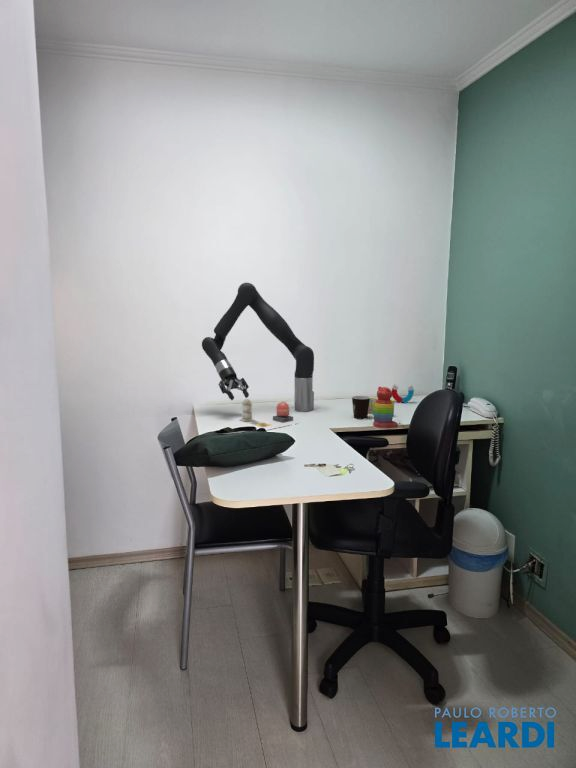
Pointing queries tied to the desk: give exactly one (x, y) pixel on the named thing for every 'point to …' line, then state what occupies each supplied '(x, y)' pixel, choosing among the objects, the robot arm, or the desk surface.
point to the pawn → (247, 411)
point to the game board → (275, 418)
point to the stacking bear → (384, 409)
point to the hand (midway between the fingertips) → (240, 397)
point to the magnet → (402, 399)
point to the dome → (282, 409)
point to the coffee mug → (360, 406)
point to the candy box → (371, 404)
